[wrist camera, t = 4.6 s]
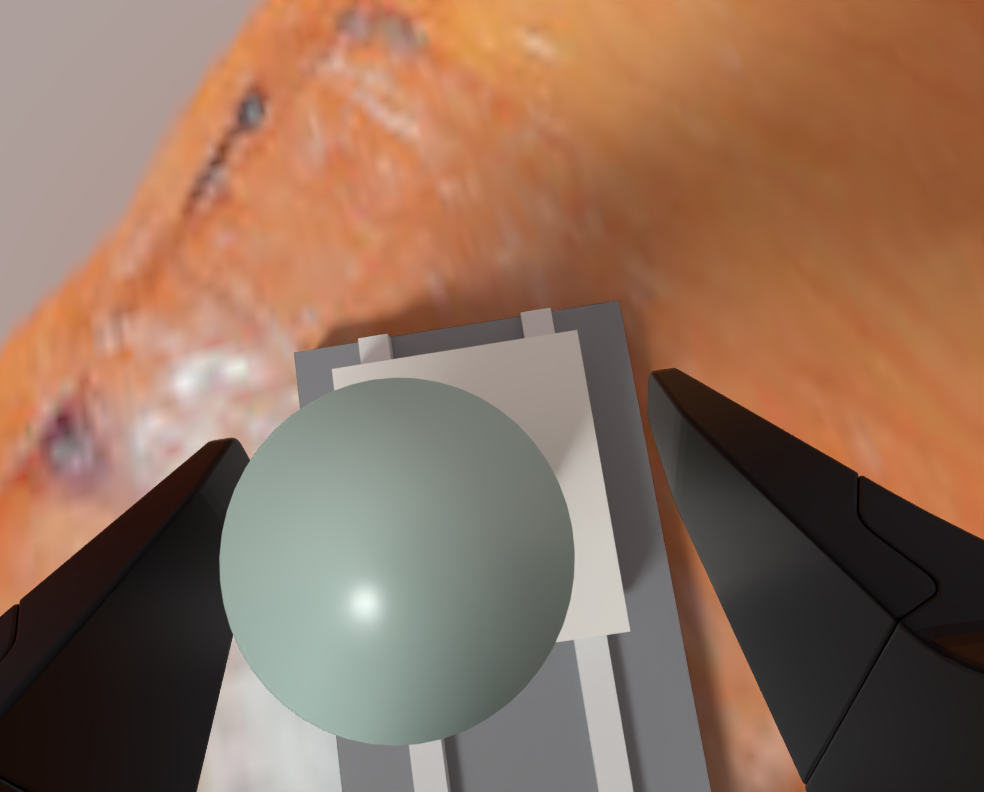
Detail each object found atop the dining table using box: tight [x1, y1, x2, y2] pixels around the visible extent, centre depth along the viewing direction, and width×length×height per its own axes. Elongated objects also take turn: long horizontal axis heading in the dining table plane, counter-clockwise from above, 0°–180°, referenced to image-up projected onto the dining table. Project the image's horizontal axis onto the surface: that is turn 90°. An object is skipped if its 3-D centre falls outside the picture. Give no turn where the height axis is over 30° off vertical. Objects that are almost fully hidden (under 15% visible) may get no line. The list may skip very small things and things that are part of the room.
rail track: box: [294, 301, 711, 792], centre depth 13 cm, size 19×9×4 cm, turn 9°
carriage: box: [219, 330, 630, 746], centre depth 9 cm, size 7×6×10 cm
